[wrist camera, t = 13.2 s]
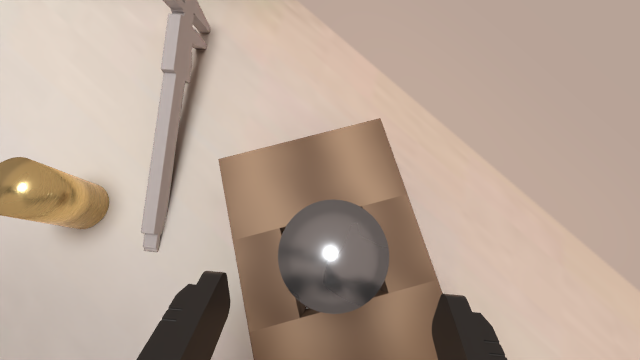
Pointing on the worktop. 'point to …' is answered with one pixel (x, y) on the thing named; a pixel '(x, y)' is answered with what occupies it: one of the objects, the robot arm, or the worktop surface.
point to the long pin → (333, 256)
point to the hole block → (303, 190)
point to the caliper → (170, 111)
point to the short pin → (49, 195)
